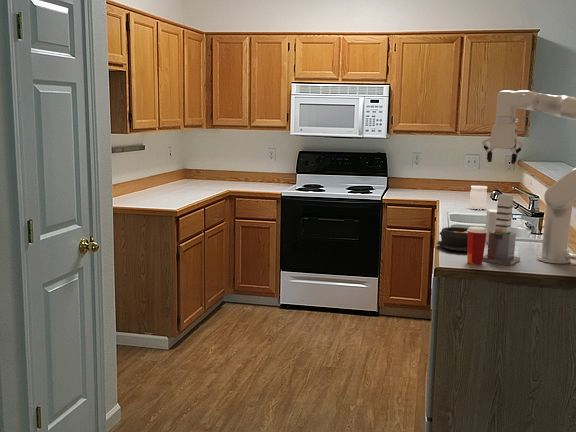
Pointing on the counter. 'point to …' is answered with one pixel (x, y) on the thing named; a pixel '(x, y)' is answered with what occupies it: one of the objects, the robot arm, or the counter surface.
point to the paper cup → (476, 245)
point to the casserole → (454, 238)
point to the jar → (478, 196)
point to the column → (504, 214)
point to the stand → (501, 249)
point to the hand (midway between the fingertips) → (501, 162)
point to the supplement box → (490, 222)
